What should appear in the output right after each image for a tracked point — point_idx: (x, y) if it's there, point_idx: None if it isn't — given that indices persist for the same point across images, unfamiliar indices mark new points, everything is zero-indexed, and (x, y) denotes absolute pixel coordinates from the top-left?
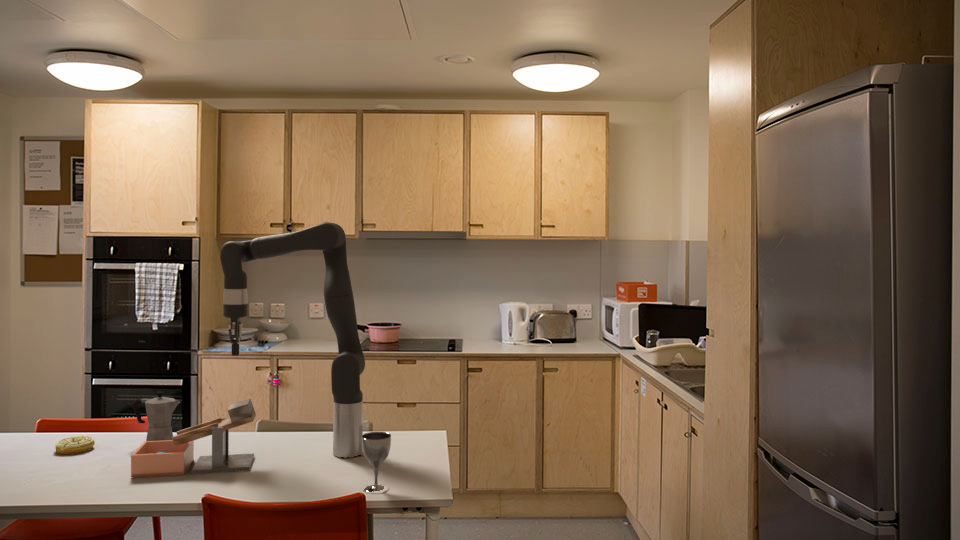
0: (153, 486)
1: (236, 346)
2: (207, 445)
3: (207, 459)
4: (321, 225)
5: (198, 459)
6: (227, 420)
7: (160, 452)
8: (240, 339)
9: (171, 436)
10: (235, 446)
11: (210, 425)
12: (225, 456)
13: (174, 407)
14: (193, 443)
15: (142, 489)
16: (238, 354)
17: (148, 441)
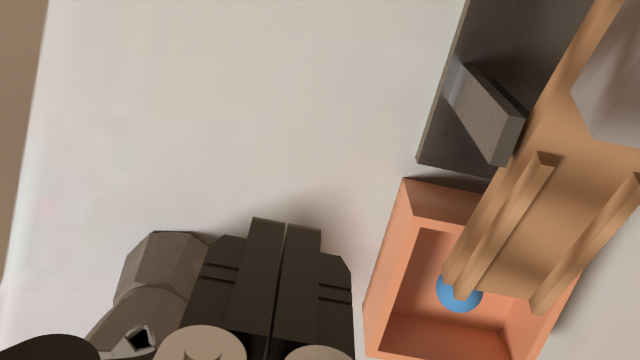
0: (615, 283)
1: (351, 353)
2: (229, 124)
3: (472, 141)
4: None
5: (457, 170)
6: (582, 128)
7: (468, 303)
8: (68, 357)
9: (185, 258)
10: (282, 17)
11: (632, 210)
12: (498, 80)
13: (152, 328)
14: (412, 207)
15: (622, 306)
16: (320, 232)
17: (373, 346)
